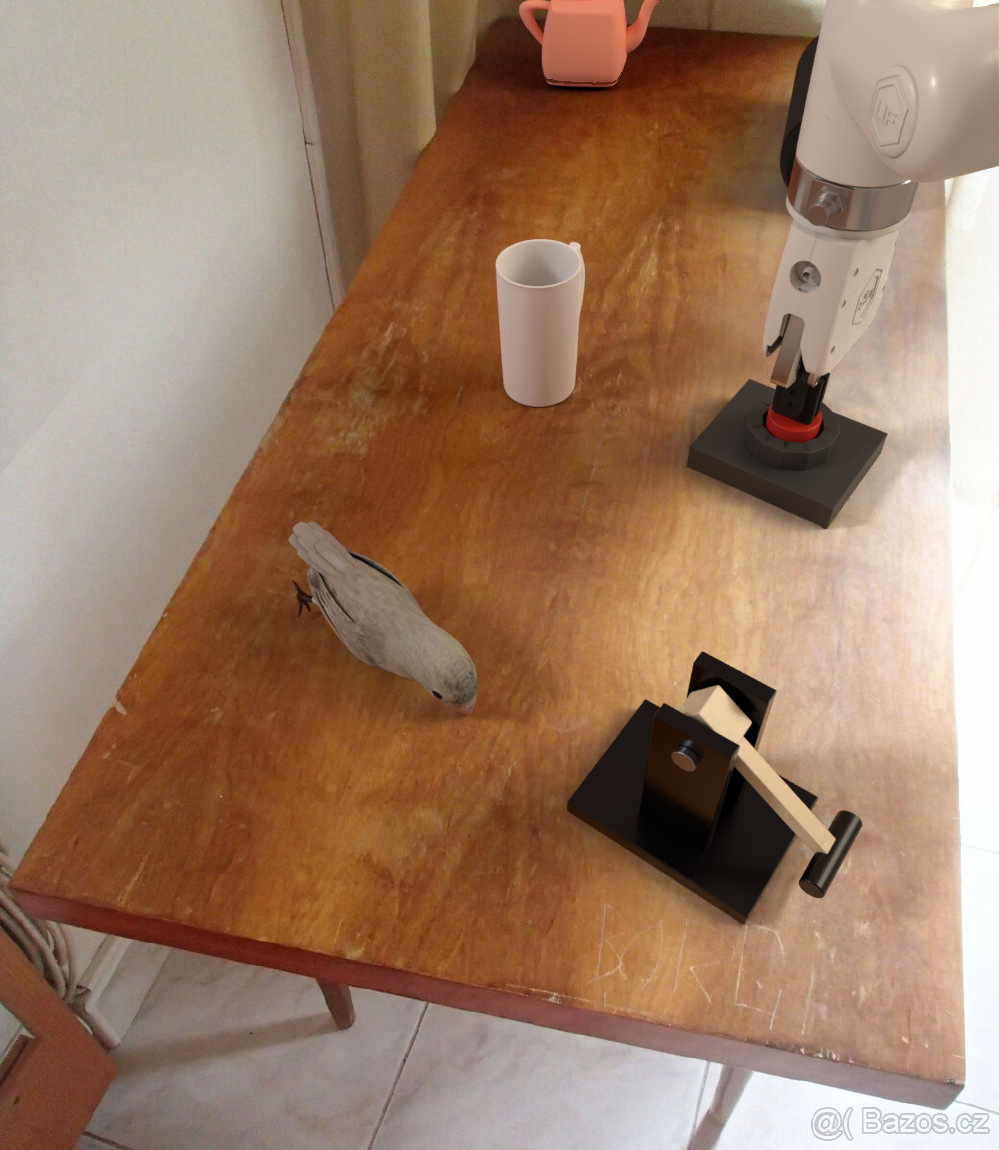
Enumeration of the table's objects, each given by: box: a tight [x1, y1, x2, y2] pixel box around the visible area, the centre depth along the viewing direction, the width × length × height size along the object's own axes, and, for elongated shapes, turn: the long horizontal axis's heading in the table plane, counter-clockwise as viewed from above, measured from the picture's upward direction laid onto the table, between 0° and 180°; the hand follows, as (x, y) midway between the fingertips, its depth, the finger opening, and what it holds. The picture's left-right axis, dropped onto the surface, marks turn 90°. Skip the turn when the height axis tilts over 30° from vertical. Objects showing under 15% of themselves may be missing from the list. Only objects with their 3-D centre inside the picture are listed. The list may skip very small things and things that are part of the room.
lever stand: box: [566, 650, 819, 926], centre depth 55 cm, size 12×9×12 cm
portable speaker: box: [779, 34, 820, 189], centre depth 105 cm, size 26×10×10 cm, turn 165°
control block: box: [686, 378, 888, 530], centre depth 77 cm, size 12×10×4 cm
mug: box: [495, 238, 586, 408], centre depth 82 cm, size 10×7×12 cm, turn 144°
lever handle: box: [677, 685, 863, 899], centre depth 53 cm, size 12×5×2 cm
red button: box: [765, 403, 822, 443], centre depth 76 cm, size 4×4×2 cm
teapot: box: [518, 0, 661, 88], centre depth 121 cm, size 12×18×10 cm, turn 81°
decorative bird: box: [287, 521, 479, 716], centre depth 65 cm, size 5×16×8 cm, turn 47°
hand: (794, 412), depth 75 cm, fingers closed
